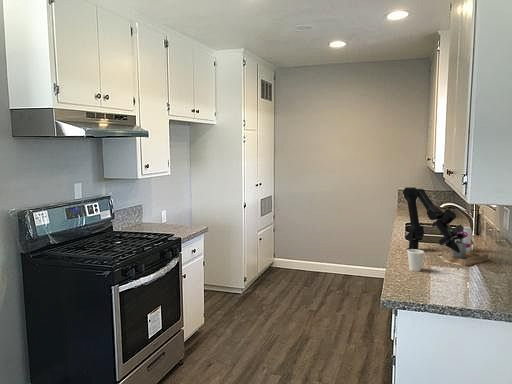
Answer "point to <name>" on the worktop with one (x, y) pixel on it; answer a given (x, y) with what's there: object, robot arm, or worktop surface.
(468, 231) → the sparkling drink can
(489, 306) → the worktop surface
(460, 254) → the grey knobbed block
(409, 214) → the robot arm
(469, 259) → the wooden dish rack
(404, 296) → the worktop surface
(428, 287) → the worktop surface
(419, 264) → the dixie cup
